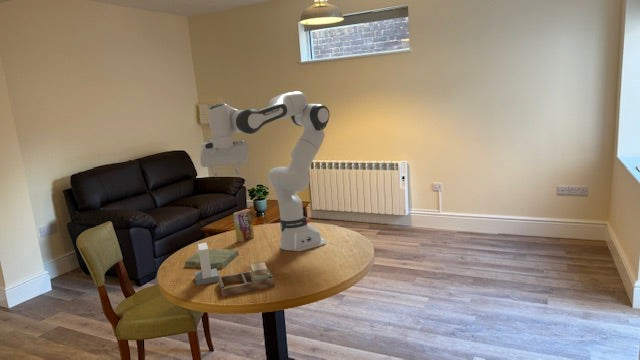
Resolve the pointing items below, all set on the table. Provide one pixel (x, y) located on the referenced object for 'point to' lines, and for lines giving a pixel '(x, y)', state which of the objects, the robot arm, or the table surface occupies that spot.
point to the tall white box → (204, 260)
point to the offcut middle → (259, 277)
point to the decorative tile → (213, 258)
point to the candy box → (243, 225)
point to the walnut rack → (245, 286)
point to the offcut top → (259, 269)
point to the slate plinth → (201, 280)
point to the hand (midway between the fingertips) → (226, 174)
